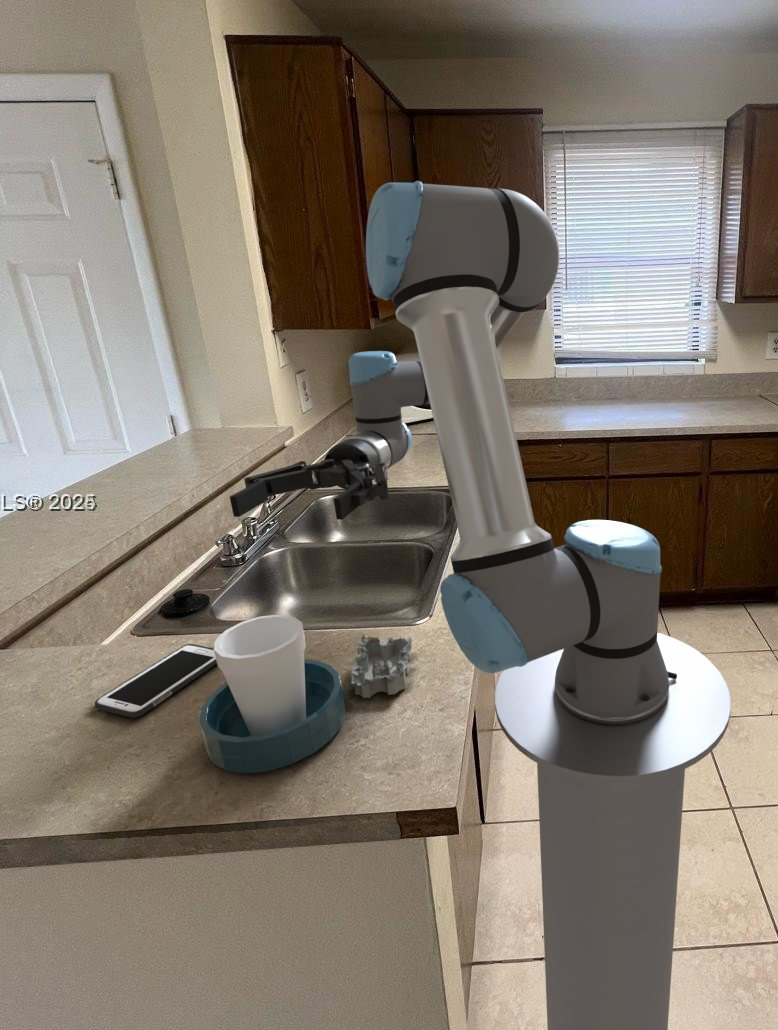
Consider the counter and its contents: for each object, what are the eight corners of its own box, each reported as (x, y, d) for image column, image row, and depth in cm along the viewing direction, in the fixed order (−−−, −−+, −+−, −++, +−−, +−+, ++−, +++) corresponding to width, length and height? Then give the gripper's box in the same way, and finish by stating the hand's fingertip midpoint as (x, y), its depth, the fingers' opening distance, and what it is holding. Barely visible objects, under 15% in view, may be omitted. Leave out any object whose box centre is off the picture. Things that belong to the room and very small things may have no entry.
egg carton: (364, 655, 91) (361, 632, 90) (416, 652, 92) (413, 628, 91) (348, 701, 81) (344, 675, 80) (406, 696, 82) (402, 670, 81)
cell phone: (229, 656, 91) (228, 650, 91) (136, 720, 78) (134, 714, 77) (189, 648, 93) (188, 642, 93) (92, 708, 80) (90, 702, 80)
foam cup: (225, 757, 71) (200, 663, 66) (248, 706, 79) (228, 619, 75) (312, 745, 73) (293, 652, 68) (325, 696, 81) (310, 611, 77)
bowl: (368, 696, 82) (363, 665, 80) (299, 785, 68) (291, 749, 66) (264, 684, 85) (257, 654, 83) (176, 767, 70) (166, 732, 69)
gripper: (437, 485, 96) (385, 538, 76) (286, 482, 99) (198, 533, 79) (432, 438, 94) (378, 481, 74) (278, 436, 96) (185, 477, 76)
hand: (285, 508), depth 76 cm, fingers open, 13 cm apart
